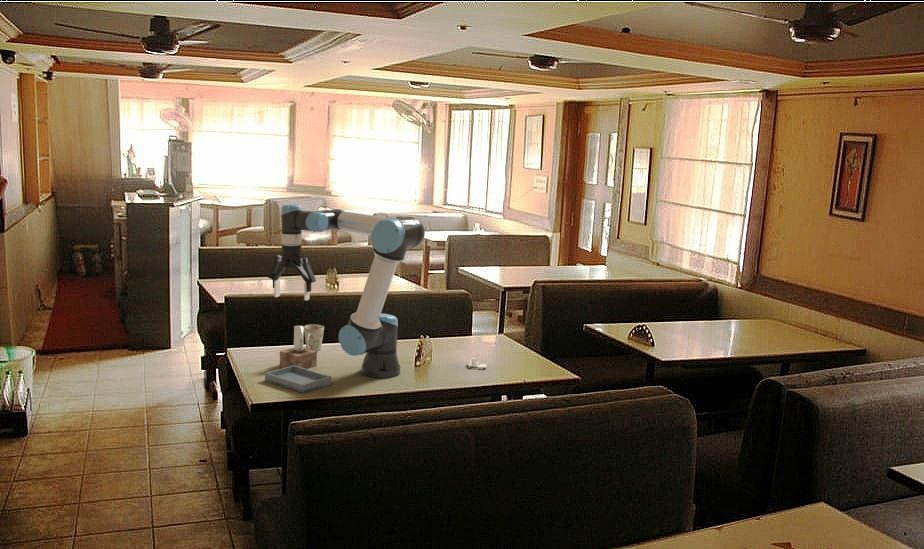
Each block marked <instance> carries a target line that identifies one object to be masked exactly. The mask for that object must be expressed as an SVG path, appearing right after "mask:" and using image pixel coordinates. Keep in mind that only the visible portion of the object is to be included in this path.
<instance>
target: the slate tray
mask: <svg viewBox="0 0 924 549" xmlns="http://www.w3.org/2000/svg"><path fill="white" fill-rule="evenodd" d="M332 380H333V378H332V376H330V375H327V374H324V373H321V372H318V371H315V370H311V369H305V368H301V367H298V366H295V365H293V366H289V367H285V368H284V367H281V368H280V369H275V370H271V371H268V372H265V373H264V381H265V382H267V383H269V384H273V385H277V386H279V387H281V388H285V389H289V390H291V391H295V392H298V393H301V394H306V393H309V392H312V391H315V390H318V389H319V390H320V389H321V388H324V387H328V386H332V382H333V381H332Z"/></svg>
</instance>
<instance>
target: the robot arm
mask: <svg viewBox="0 0 924 549" xmlns="http://www.w3.org/2000/svg"><path fill="white" fill-rule="evenodd" d="M280 213H281V214H280V219H281V244H282V245H281V254H282V256H281V254H278V255H275V257H274V262H273V264H272V266H271V268H270V271H269V273H268V276H267V278H268V279H270V280H272V288H273V289H274V292H273V293H274V294H273V295H274V298H278V297H280V296H281V280H280V279H279V278H280V277H281V276H282V274H283V273H284V272H285V271H286V269H292V270H294V269H295V270H296V271H297V272H298V274H299V275H300V276H301V278H302V280H303V281H304V282H305V283H304V284H303V297H304V298H303V300H304V301H309V300H310V298H311V297H310V296H311V295H310V292H312V284H313V283H315V282H317V279H316V276H315V274H314V272H313V270H312V268H311V264H310V262H309V261H310V260H309V258H308V257H304V258H302V250H303V249H302V248H303V247H302V231H304V232H312V233H322V232H324V231H326V230H327V231H328V230H336V231H344V232H345V231H346V232H350V233H356V234H361V235H369V236H370V241H371V244H372V252H373V254H374V257H373V261H372V263H371V265H370V270H369V273H368V276H367V279H366V283H365V285H364V288H363V291H362V294H361V296H360V300H359V304H358V307H357V309H356V312H353V313H352V314H351V315H350V317H349V320H348V324H345V325H344V326H343V327H341V328H340V330H339V332H338V343H339V344H340V347H341V349H342V351H344V353H346V354H347V355H350V356H354V357H355V356H362V355H364V354H365V356H364V358H363V362H362V364H361V370H360V371H361V374H363V375H364V376H367V377H370V378H371V377H372V378H379V379H381V378H393V377H396V376H399V375H400V374H401V365H400V362H399V358H398V354H397V351H398V349H397V348H398V346H397V345H398V328H399V325H398V322H399V321H398V318H397V317H396V316H395V315H392V314H388V313H382V312H383V308H384V305H385V301H386V300H387V296H388V293H389V291H390V287H391V284H392V281H393V279H394V277H395V276H394V275H395V273H396V269H397V267H398V263H400V262H402V261H404V260H405V256H406V254H407V250H411V249H414V248H417V247H418V246H420V245H421V244H422V243H423V240H424V239H425V235H426V234H425V233H426V232H425V231H426V230H425V226H424V225H423V223H422V222H421V221H420V220H419V219H418V218H415V217H413V216H397V217H386V216H380V215H379V216H378V215H374V214H373V215H372V214H365V213H358V212H352V211H346V210H343V209H338V208H334V209H329V210H327V209H326V210H314V211H312V210H303V208H302V205H300V204H293V203H291V204H290V203H289V204H283V205H282V206H281V212H280ZM281 262H282V264H281ZM280 264H281V265H280ZM279 266H280V267H279Z"/></svg>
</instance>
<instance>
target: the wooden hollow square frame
mask: <svg viewBox="0 0 924 549" xmlns="http://www.w3.org/2000/svg"><path fill="white" fill-rule="evenodd" d="M317 360H318V351H313V350H310V349H306V347H303V353H300V354H296V353H294V347H293V348H288V349H283V350H281V351H279V367H281V368H285V367H289V366H293V365H295V366H298V367H301V368H305V369H308V370H310V369H311V368H316V367H317V364H318V362H317Z"/></svg>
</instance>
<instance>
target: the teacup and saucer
mask: <svg viewBox="0 0 924 549" xmlns="http://www.w3.org/2000/svg"><path fill="white" fill-rule="evenodd" d="M479 362H480V358H479V357H476V356H475V357H470V358H469V364H471V365H470V366H471V367H472V366H473V367H477V366H478V367H477V369H479V368H481V369H480V370H484V369H483V368H485V369H486V368H487V367H488V366H487V364H480V363H479ZM478 364H480V365H478ZM473 367H472V368H473Z"/></svg>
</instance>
